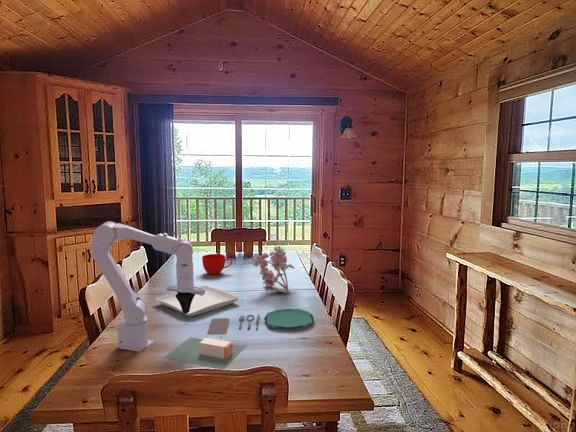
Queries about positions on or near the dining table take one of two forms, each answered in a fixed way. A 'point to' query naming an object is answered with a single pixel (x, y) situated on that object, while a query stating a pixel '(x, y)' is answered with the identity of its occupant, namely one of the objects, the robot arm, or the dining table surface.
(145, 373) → the dining table surface
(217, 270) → the ceramic cup
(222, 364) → the green mat
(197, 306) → the square plate
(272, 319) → the cutlery set
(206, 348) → the cream block
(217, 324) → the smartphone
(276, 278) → the flower
